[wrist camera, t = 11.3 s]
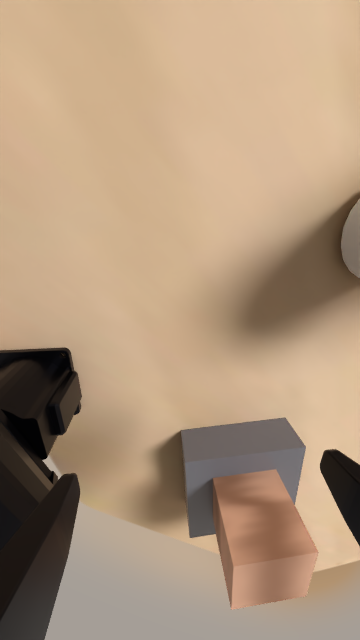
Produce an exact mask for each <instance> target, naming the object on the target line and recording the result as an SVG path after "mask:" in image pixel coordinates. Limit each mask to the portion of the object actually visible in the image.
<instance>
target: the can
mask: <svg viewBox="0 0 360 640" xmlns="http://www.w3.org/2000/svg"><path fill="white" fill-rule="evenodd" d="M341 250H342V257H343V260H344V262H345V264H346V266H347V268H348V269H349V271H350V272H352V273H353V274H354V275H356V276H357V277H358V278H360V199H359V200H358V201H357V203H356V204H355V205H354V207H353V208H352V210H351V211H350V213H349V216H348V218H347V220H346V223H345V225H344V227H343V233H342V240H341Z"/></svg>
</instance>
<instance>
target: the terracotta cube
mask: <svg viewBox="0 0 360 640" xmlns="http://www.w3.org/2000/svg"><path fill="white" fill-rule="evenodd" d="M213 521H214V526H215V531H216V536H217V541H218V546H219V551H220V556H221V561H222V566H223V571H224V576H225V581H226V586H227V590H228V596H229V601H230V606H231V609H238V608H243V607H248V606H253V605H260V604H264V603H271V602H276V601H282V600H286V599H292V598H298V597H304V596H306V595H307V591H308V588H309V584H310V581H311V577H312V574H313V570H314V567H315V563H316V560H317V556H318V550H317V548H316V546H315V544H314V542H313V540H312V539H311V537H310V535H309V533H308V531H307V529H306V527H305V525H304V523H303V521H302V519H301V517H300V515H299V513H298V511H297V509H296V507H295V505H294V503H293V501H292V499H291V497H290V495H289V493H288V492H287V490H286V488H285V486H284V484H283V482H282V480H281V478H280V476H279V474H278V472H277V470H276V469H274V470H267V471H260V472H252V473H245V474H238V475H230V476H223V477H216V478H213Z"/></svg>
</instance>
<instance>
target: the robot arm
mask: <svg viewBox="0 0 360 640" xmlns="http://www.w3.org/2000/svg"><path fill="white" fill-rule="evenodd" d="M61 353H64V354H65V355H66V356H63V355H62V354H61ZM81 397H82V395H81V389H80V384H79V379H78V374H77V372H76V371H74V367H73V362H72V357H71V352H70V350H69V349H67V348H47V349H25V350H3V351H0V640H44V639H45V636H46V632H47V628H48V625H49V622H50V618H51V615H52V611H53V607H54V604H55V600H56V597H57V593H58V590H59V586H60V583H61V579H62V576H63V572H64V569H65V565H66V562H67V558H68V554H69V549H70V544H71V539H72V534H73V528H74V523H75V519H76V513H77V508H78V503H79V498H80V486H79V482H78V478H77V475H76V474H75V473H71V474H64V475H63V476H61V478H60V479H59V480H58V476H57V475H56V474H55V473H54V471H50V470H49V469H48V467H47V466H46V465H45V463H44V462H43V461H42V460H44V459H46V458H47V457H48V455H49V453H50V451H51V448H52V446H53V444H54V442H55V440H56V438H57V436H58V435H63V434H64V433H65V432H66V431H67V428H68V426H69V424H70V422H71V420H72V417H73V415H76V414H78V413H79V412H80V409H81V404H80V400H81ZM320 470H321V473H322V475H323V477H324V479H325V481H326V483H327V485H328V487H329V489H330V491H331V493H332V495H333V498H334V500H335V502H336V504H337V506H338V508H339V510H340V512H341V514H342V516H343V518H344V520H345V522H346V523H347V525H348V527H349V529H350V530H351V532H352V534H353V536H354V537H355V539H356V541H357V542H358V544H359V546H360V465H359V464H358V463H356V462H355V461H353V460H352V459H350V458H349V457H347V456H346V455H344V454H343V453H341V452H340V451H338V450H336V449H330V450H325V451H324V453H323V456H322V459H321V463H320Z"/></svg>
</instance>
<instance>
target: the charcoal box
mask: <svg viewBox="0 0 360 640" xmlns="http://www.w3.org/2000/svg"><path fill="white" fill-rule="evenodd" d="M181 439H182V454H183V468H184V483H185V498H186V508H187V517H188V526H189V535H190V538H193V537H199V536H206V535H212V534H216V531H215V526H214V521H213V478H216V477H223V476H230V475H238V474H245V473H252V472H260V471H267V470H274V469H276V470H277V472H278V474H279V476H280V478H281V480H282V482H283V484H284V486H285V488H286V490H287V492H288V493H289V495H290V497H291V499H292V501H293V503H294V505H295V501H296V495H297V490H298V485H299V480H300V475H301V469H302V464H303V459H304V454H305V449H306V446H305V445H304V444H303V442H302V441H301V439H300V438H299V436H298V435H297V434H296V432H295V431H294V429H293V428H292V427H291V425H290V424H289V422H288V421H287V419H286V418H278V419H269V420H261V421H253V422H245V423H236V424H228V425H220V426H211V427H203V428H195V429H186V430H181Z"/></svg>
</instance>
